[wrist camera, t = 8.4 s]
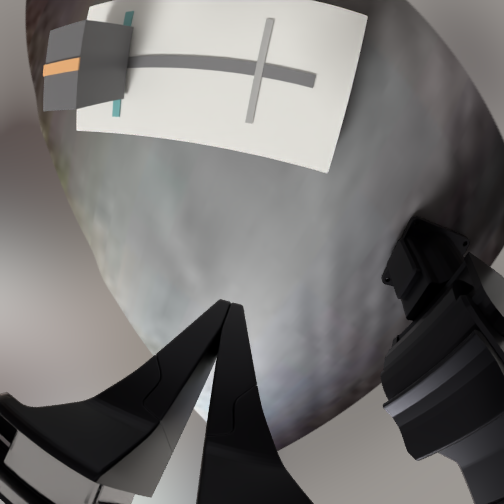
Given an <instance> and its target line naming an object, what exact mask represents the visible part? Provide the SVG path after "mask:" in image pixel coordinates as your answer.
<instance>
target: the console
mask: <svg viewBox="0 0 504 504" xmlns="http://www.w3.org/2000/svg"><path fill="white" fill-rule="evenodd" d="M367 18H368V16H366V15H364V14H361V13H357V12H354V11H351V10H348V9H344V8H341V7H337V6H334V5H330V4H326V3H322V2H317V1H313V0H115V1H111V2H106V3H102V4H98V5H95V6H91V7H90V8H89V12H88V17H87V20H92V21H100V22H107V23H114V24H120V25H126V26H131V27H134V28H133V33H132V39H131V45H130V51H129V58H128V65H127V73H126V82H125V92H124V99H119V100H114V101H109V102H105V103H100V104H96V105H92V106H87V107H83V108H80V109H77V131H94V132H108V133H120V134H131V135H141V136H149V137H157V138H165V139H172V140H179V141H186V142H192V143H198V144H204V145H209V146H215V147H220V148H226V149H231V150H236V151H240V152H245V153H250V154H254V155H259V156H263V157H267V158H272V159H276V160H280V161H284V162H288V163H292V164H296V165H299V166H303V167H307V168H310V169H314V170H318V171H321V172H324V173H328V171H329V168H330V164H331V161H332V157H333V154H334V151H335V147H336V144H337V140H338V137H339V133H340V129H341V126H342V122H343V119H344V115H345V111H346V107H347V104H348V100H349V96H350V92H351V88H352V84H353V80H354V76H355V72H356V68H357V63H358V59H359V55H360V50H361V46H362V42H363V37H364V32H365V27H366V23H367Z"/></svg>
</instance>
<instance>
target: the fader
mask: <svg viewBox="0 0 504 504" xmlns="http://www.w3.org/2000/svg"><path fill="white" fill-rule="evenodd" d="M133 28H134V27H131V26H126V25H120V24H114V23H107V22H100V21H92V20H84V21H80V22H76V23H73V24H70V25H67V26H63V27H60V28H57V29H55V30H52V31H50V36H49V42H48V49H47V57H46V65H44V70H43V76H45V79H44V99H43V111H53V110H75V109H80V108H83V107H87V106H92V105H96V104H100V103H105V102H109V101H114V100H119V99H124V92H125V82H126V73H127V65H128V58H129V51H130V45H131V39H132V33H133Z"/></svg>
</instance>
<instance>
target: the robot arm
mask: <svg viewBox="0 0 504 504" xmlns="http://www.w3.org/2000/svg"><path fill="white" fill-rule="evenodd" d="M415 222H418V224H417V225H414V223H415ZM464 242H465V243H464ZM463 243H464V244H463ZM469 243H470V241H469V239H468V238H467V237H466V236H464V235H461V234H459V233H457V232H454V231H452V230H450V229H447V228H445V227H442V226H440V225H438V224H435V223H433V222H430V221H428V220H425V219H422V218H420V217H417V216H415V217H413V218H411V220H410V222H409V224H408V226H407V228H406V230H405V232H404V234H403V236H402V238H401V239H400V240H399V241H398V243H397V245H396V247H395V249H394V251H393V253H392V255H391V257H390V258H389V260H388V262H387V267H386V269H385V271H384V273H383V275H382V282H383V283H384V284H387V285H390V286H394V289H395V292H396V295H397V298H398V299H401V301H402V304H403V308H404V311H405V315H406V318H407V319H408V320H412V321H413V322H412V323H411V324H410V325H409V326H408V327H407V328H406V329H405V330H404V331H403V332H402V333H401V334H400V335H398V336H397V337H396V338H395V339H394V340H393V344H392V348H391V349H390V350H389V352H388V353H387V355H386V357H385V362H384V371H382V372H381V381H382V386H383V389H384V392H385V394H386V397H387V398H388V400H389V401H387V402H386V403H384V404H383V408H384V409H385V410H386V411H387V412H388V413H389V414H390V415H391V416H392V417H393V419H394V420H395V422H396V424H397V425H398V426H399V429H400V431H401V434H402V437H403V439H404V443H405V446H406V449H407V451H408V453H409V454H410V455H411V456H412V457H413V458H414V459H415V460H417V461H419V460H422V459H424V458H427V457H429V456H431V455H433V454H435V453H439V454H442V455H443V456H445V457H447V458H449V459H451V460H453V461H455V462H456V463H457V464H458V466H459V467H460V469H461V472H462V474H463V476H464V479H465V481H466V483H467V486H468V488H469V491H470V494H471V496H472V499H473V501H474V504H504V278H503V277H502V275H500V274H499V273H498V272H496V271H495V270H494V269H492V268H491V267H490V266H488V265H487V264H485V263H484V262H483V261H481V260H480V259H478V258H477V257H476V256H474V255H473V254H471V253H470V252H468V254H467V255H466V256H465V258H464V257H463V255H464V253H465V251H466V250H467V248H468V246H469ZM388 277H389V279H386V278H388ZM216 358H217V359H216ZM215 360H216V366H215V372H214V379H213V385H212V392H211V398H210V405H209V412H208V419H207V426H206V433H205V440H204V447H203V454H202V455H203V456H202V462H201V469H200V477H199V485H198V492H197V500H196V504H314V503H313V502H312V501H311V500H310V499H309V497H308V496H307V495H306V494H305V493H304V491H303V490H302V489H301V488H300V486H299V485H298V484H297V483H296V481H295V480H294V479H293V478H292V476H291V475H290V474H289V472H288V471H287V470H286V468H285V467H284V465H283V463H282V461H281V459H280V457H279V455H278V452H277V450H276V447H275V444H274V441H273V439H272V436H271V433H270V431H269V428H268V425H267V422H266V419H265V416H264V413H263V409H262V405H261V401H260V397H259V392H258V386H256V385H257V382H256V376H255V371H254V365H253V360H252V354H251V349H250V343H249V337H248V332H247V326H246V320H245V314H244V309H243V306H242V305H240V304H236V303H230V302H229V301H225V300H222V299H220V300H218V301H217V302H216V303H215V304H214V305H213V306H211V307H210V308H209V309H208V310H207V311H206V312H204V313H203V314H202V315H201V316H200V317H199V318H198V319H196V320H195V321H194V322H193V323H192V324H191V325H189V326H188V327H187V328H186V329H185V330H184V331H182V332H181V333H180V334H179V335H178V336H177V337H175V338H174V339H173V340H172V341H171V342H170V343H168V344H167V345H166V346H165V347H164V348H163V349H161V350H160V351H159V352H158V353H157V354H156V355H154V356H153V357H152V358H151V359H150V360H148V361H147V362H146V363H145V364H143V365H142V366H141V367H140V368H138V369H137V370H136V371H134V372H133V373H131V374H130V375H128V376H127V377H126V378H124V379H122V380H121V381H119V382H117V383H116V384H114V385H113V386H111V387H109V388H108V389H106V390H105V391H103V392H101V393H100V394H98V395H96V396H95V397H92V398H90V399H87V400H85V401H80V402H74V403H67V404H61V405H52V406H44V407H29V406H26V405H23V404H22V403H20V402H19V401H18V400H16V399H15V398H14V397H13V396H12V395H10V394H9V393H8V392H5V393H1V394H0V499H1V500H2V501H3V502H4V503H5V504H131V503H132V500H133V497H134V495H135V494H137V495H142V496H146V497H152V495H153V493H154V491H155V489H156V487H157V485H158V483H159V481H160V479H161V476H162V474H163V472H164V470H165V468H166V466H167V464H168V461H169V460H170V458H171V455H172V453H173V451H174V449H175V447H176V445H177V443H178V440H179V438H180V436H181V434H182V432H183V430H184V428H185V425H186V423H187V421H188V419H189V417H190V415H191V413H192V410H193V408H194V406H195V404H196V402H197V400H198V398H199V395H200V393H201V391H202V389H203V387H204V385H205V382H206V380H207V378H208V376H209V374H210V371H211V369H212V367H213V365H214V363H215Z"/></svg>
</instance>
